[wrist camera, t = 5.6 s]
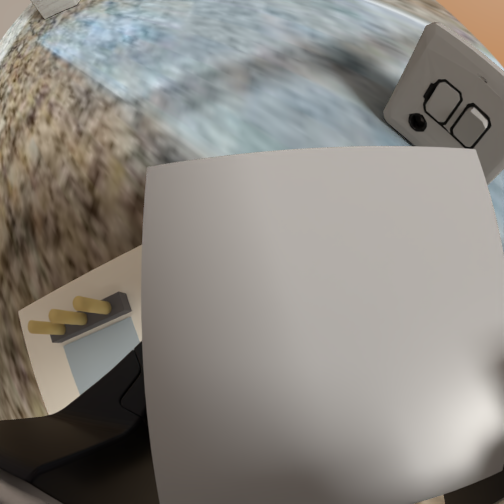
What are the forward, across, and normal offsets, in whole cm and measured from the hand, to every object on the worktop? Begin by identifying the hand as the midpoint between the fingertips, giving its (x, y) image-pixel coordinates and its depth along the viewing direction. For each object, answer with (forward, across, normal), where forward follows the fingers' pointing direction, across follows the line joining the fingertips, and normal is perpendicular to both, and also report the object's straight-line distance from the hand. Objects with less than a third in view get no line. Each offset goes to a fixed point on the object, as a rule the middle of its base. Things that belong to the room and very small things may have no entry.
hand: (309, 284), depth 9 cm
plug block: (+4, 0, +6) cm, 7 cm away
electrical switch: (+16, -12, -1) cm, 20 cm away
